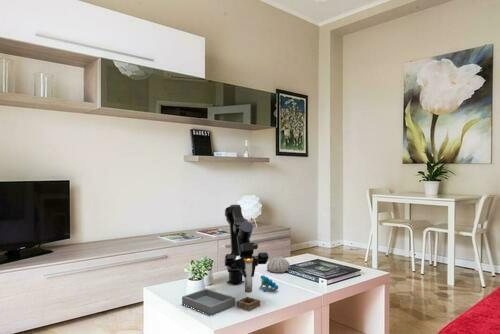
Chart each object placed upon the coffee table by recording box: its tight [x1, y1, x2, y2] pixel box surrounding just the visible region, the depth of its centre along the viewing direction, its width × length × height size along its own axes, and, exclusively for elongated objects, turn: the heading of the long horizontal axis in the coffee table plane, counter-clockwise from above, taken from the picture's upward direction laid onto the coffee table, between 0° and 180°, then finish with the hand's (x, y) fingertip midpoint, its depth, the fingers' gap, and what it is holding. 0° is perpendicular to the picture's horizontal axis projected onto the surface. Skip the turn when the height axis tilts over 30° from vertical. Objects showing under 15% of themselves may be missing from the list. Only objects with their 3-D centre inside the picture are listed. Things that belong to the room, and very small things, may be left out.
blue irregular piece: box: [259, 275, 279, 292], centre depth 171 cm, size 11×6×10 cm
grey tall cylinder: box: [244, 257, 253, 294], centre depth 150 cm, size 4×4×14 cm
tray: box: [181, 288, 236, 316], centre depth 152 cm, size 18×14×4 cm
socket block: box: [236, 296, 261, 312], centre depth 150 cm, size 7×7×2 cm
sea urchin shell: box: [266, 255, 291, 274], centre depth 204 cm, size 13×14×8 cm
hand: (249, 276), depth 149 cm, fingers closed on grey tall cylinder, 3 cm apart
